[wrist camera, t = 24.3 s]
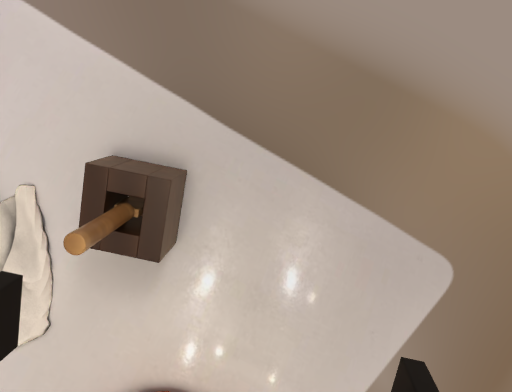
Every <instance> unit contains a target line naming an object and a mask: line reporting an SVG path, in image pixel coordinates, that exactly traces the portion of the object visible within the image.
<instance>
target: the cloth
mask: <svg viewBox="0 0 512 392" xmlns="http://www.w3.org/2000/svg"><path fill="white" fill-rule="evenodd" d="M47 248H48V241H47V236H46V233H45V231H44V229H43V226H42V215H41V212H40V209H39V207H38V205H37V203H36V200H35V187H34V186H26V185H19V186H18V188H17V189H16V191H15V196H13V197H11V198H9V199H6V200H4V201H3V202H1V203H0V272H1V271H5V272H10V273H15V274H19V275H23V283H22V296H21V309H20V322H19V335H18V346H19V345H21V344H23V343H26V342H29V341H32V340H34V339H35V338H37V337H39V336H41V335H43V334H44V333H45V332H46V330H47V329H48V327H49V326H50V323H49V322H48V320H47V317H48V314H49V310H50V303H51V299H52V287H51V286H52V273H51V270H50V267H51V259H50V256H49V252H48V250H47Z"/></svg>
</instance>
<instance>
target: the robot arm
mask: <svg viewBox="0 0 512 392" xmlns="http://www.w3.org/2000/svg"><path fill="white" fill-rule="evenodd" d="M22 283H23V275H19V274H15V273H10V272H5V271H1V272H0V361H1V360H2V359H3V358H5V357H6V356H7V355H8V354H9V353H10V352H11V351H13V350H14V349H15V348H16V347H17V346H18V335H19V322H20V309H21V296H22ZM391 392H439V390H438V388H437V387H436V384H435V383H434V381H433V379H432V377H431V375H430V372H429V370H428V369H427V367H426V365H425V363H424V362H422V361H417V360H413V359H408V358H403V357H401V359H400V363H399V366H398V370H397V373H396V377H395V380H394V383H393V387H392V390H391Z"/></svg>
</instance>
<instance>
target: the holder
mask: <svg viewBox="0 0 512 392" xmlns="http://www.w3.org/2000/svg"><path fill="white" fill-rule="evenodd" d="M186 175H187V170H182V169H177V168H172V167H166V166H162V165H157V164H152V163H147V162H142V161H137V160H132V159H128V158H123V157H118V156H113V155H112V156H108V157H105V158H101V159H98V160H94V161H91V162H87V163H86V164H85V173H84V183H83V192H82V202H81V212H80V221H79V228H80V227H81V226H83V225H85V224H87V223H88V222H90V221H92V220H94V219H95V218H97V217H99V216H100V215H102V214H104V213H106V212H107V211H109V210H111V209H113V208H114V205H115V204H117V203H118V202H120V201H122V200H124V199H126V198H127V197H128V195H129V196H134V197H139V198H145V200H144V207H143V215H142V216H139V217H138V218H137V217H133V218H131V219H130V220H129V221H127V222H126V223H124V224H123V225H122V226H120V227H119V228H117V229H116V230H115V231H113V232H112V233H110V234H109V235H108V236H106V237H105V238H103V239H102V240H100V241H99V242H98V243H96V244H95V245H93V246H92V247H91V249H96V250H101V251H106V252H111V253H115V254H120V255H125V256H129V257H134V258H139V259H144V260H148V261H153V262H158V263H159V262H160V261H161V260H162V259H163V258H164V256H165V255H166V254H167V253H168V252H169V250H170V249H171V248H172V247H173V246H174V245H175V243H176V239H177V232H178V226H179V220H180V213H181V207H182V200H183V194H184V188H185V181H186Z"/></svg>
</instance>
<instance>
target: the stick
mask: <svg viewBox="0 0 512 392" xmlns="http://www.w3.org/2000/svg"><path fill="white" fill-rule="evenodd" d="M144 200H145V198H139V197H134V196H129V197H127V198H126V199H124V200H122V201H120V202H118V203H117V204H115V205H114V208H113V209H111V210H109V211H107V212H106V213H104V214H102V215H100V216H99V217H97V218H95V219H94V220H92V221H90V222H88V223H87V224H85V225H83V226H81V227H80V228H78V229H76V230H74V231H73V232H71V233H69V234H68V235H66V237H65V238H64V247H65V249H66V251H67V252H68V253H70V254H72V255H80V254H82V253H84V252H85V251H86V250H88V249H89V248H91V247H92V246H93V245H95V244H96V243H98V242H99V241H100V240H102V239H103V238H105V237H106V236H108V235H109V234H110V233H112V232H113V231H115V230H116V229H117V228H119V227H120V226H122V225H123V224H124V223H126V222H127V221H129V220H130V219H131V218H133V217H137V218H138V217H139V216H141V215H142V214H143V207H144Z"/></svg>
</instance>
